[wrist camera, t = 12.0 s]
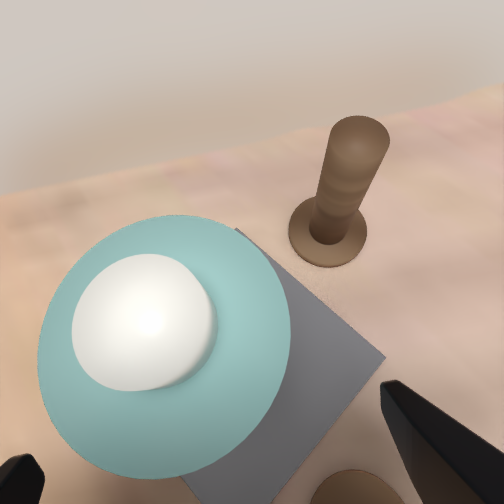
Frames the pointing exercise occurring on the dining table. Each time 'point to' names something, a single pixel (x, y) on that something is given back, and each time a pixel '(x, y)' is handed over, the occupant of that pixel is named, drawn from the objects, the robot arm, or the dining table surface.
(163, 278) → the teal bottle
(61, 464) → the dining table surface
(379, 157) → the walnut gate posts
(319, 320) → the charcoal rubber mat
